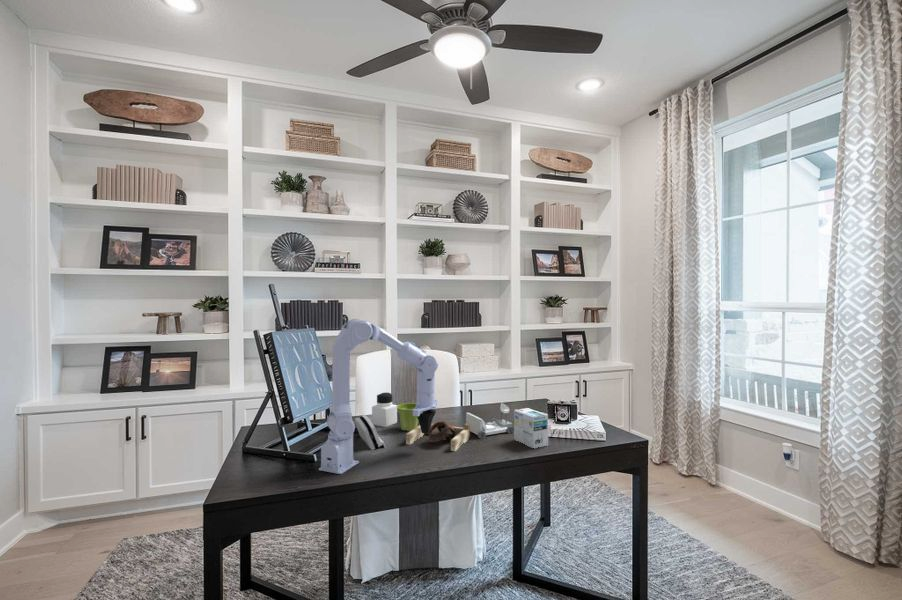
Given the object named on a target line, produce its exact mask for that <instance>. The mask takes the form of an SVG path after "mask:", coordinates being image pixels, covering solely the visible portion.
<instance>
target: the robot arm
mask: <svg viewBox="0 0 902 600" xmlns="http://www.w3.org/2000/svg"><path fill="white" fill-rule="evenodd" d="M369 340H370V341H378V342H380V343H381V344H384V345H385V346H387V347H389V349H390V348H391V349H392V350H394V351H396V353H397V357H398V358H399V359H401V360H402V361H404V362H406V363H407V364H409V365H410V366H412V367H414V368H415V370H416V371H417V372H416V403H417V405H416V406H415V409H413V416H416V417H417V418H418V424H419V426H420V427H421V432H422V433H425V435H426V434H427V435H429V434H428V433H429V431H430V427H431V424H433V423H432V422H433V419H434V416H435V415H436V413H437V412H436V411H437V410H435V409H438V400H437V399H435V386H436V385H435V374H436V373H435V372H436V371H437V369H438V367H439V363H438V362H437V360H436V358H435V357H434V356H432V355H429V354H427V351H426V350H425V349H423V350H422V349H420V348H419V347H417V346H416V343H415V342H413V341H410V342H409V341H405V342H402V341H400V340H399V339H398V338H396V337H394V336H393V335H392V334H390V333H389V332H387V331H386V330H384V329H382V328H381V327H379V326H377V325H375V324H374V323H370V322H369V321H367V320H360V319H358V318H351V319H349V320H348V321H347V322H346V323H344V324H343V325H342V326H341V329H340V332H339V333H338V335H336V338H335V339H334V341H333V343H332V349H331V350H332V352H331V353H332V359H331V360H332V361H331V363H332V371H331V372H332V377H331V378H332V381H331V382H332V383H331V384H332V390H331V391H332V392H331V393H332V395H331V397H332V398H331V399H332V402H331V403H332V404H331V405H330V408H329V410H330V411H329V412H330V413H329V415H328V417H327V420H326V424H327V426H328V428H329V429H330V431H329V432H328V436H327V437H328V438H327V440H326V441H325V443H324V444H322V446H321V449H320V467H319V468H318V470H319V471H320V472H321V471H322V472H328V473H332V474H337V475H338V474H339V475H342V474H344V473H345V472H347V471H348V470H350V469H352V468H354V467H355V466H356V465H358V464H360V461H359V460H355V459H354V432H355V430H356V423H355V421H354V420H353V418H352V417H353V412H352V408H351V403H350V402H351V401H350V400H351V399H350V397H351V396H350V395H351V393H350V392H351V391H350V390H351V389H350V386H351V382H350V381H351V379H350V376H351V375H350V374H351V373H350V372H351V371H350V367H351V365H350V363H351V362H350V361H351V359H350V358H351V354H350V353H351V351H352V350H354V349H355V348H356V347H357V346H359V345H360V344H363V343H365V342H366V341H367V342H368V341H369Z"/></svg>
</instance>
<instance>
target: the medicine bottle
mask: <svg viewBox="0 0 902 600" xmlns="http://www.w3.org/2000/svg"><path fill="white" fill-rule="evenodd" d="M397 406H398V405H397V404H393V394H392V393H390V392H387V391H385V392H379V393H378V394H376V405H372V406H371V422H372V423H373V425H374V426H379V427H382V428H383V427H384V428H387V427H389V426H393V425H394V424H395V425H396V424H397V423H398V408H397Z"/></svg>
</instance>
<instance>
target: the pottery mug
mask: <svg viewBox="0 0 902 600" xmlns="http://www.w3.org/2000/svg"><path fill="white" fill-rule="evenodd" d="M432 424H433V425H432V426H431V427H430V431H429V433H428V434H427V435H428V442H429V443H430V444H432V443H437V442H439V441H440V442H441V441H446V440H447V439H446V437H447V436H446V435H448V436H449V437H448V439H449V440H452V439H453V438H454V437H455V436H457V435H456V432H455V430H454V428H453V427H452V426H453V425H450V424H449V423H447V422H446V421H444V420H441V421H437V422H435V423H432ZM435 428H437V429H438V430H439V433H437V434H431V432H432V431H433V430H434V429H435Z"/></svg>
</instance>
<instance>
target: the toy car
mask: <svg viewBox="0 0 902 600" xmlns="http://www.w3.org/2000/svg"><path fill="white" fill-rule="evenodd" d="M508 404H509V403H508V402H506V404H505V403H503V402H500V406H499V407H500V409H499V410H500V419H497V418H494V417H490V418H489V422H485V421H484V419H482V418H480V417H479V416H477V415H475V414H473V413H471V412H466V413H465V423H463V425H462V427H463V428H465V424H470V433H473V434H475V435H476V436H477V437H478V439H479V438H482V439H485V438H486V437H487V436H490V435H496V434H500V433H501V434H502V433H507V434H508V433H510V434H512V433H511V432H513V433H514V423H512V422H510V421H508V420H507V418H508V417H507V415H508V414H509V413H510V412H511V410H510V408H509V406H508ZM503 414H505V419H503Z"/></svg>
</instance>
